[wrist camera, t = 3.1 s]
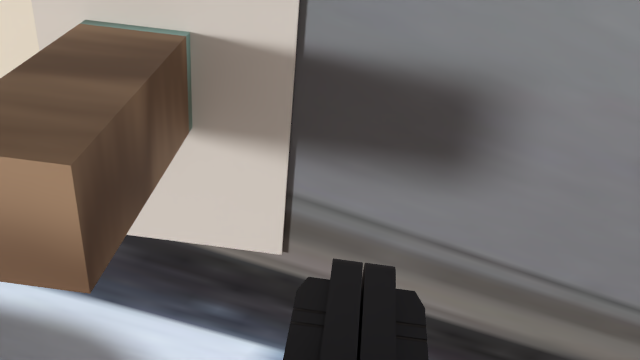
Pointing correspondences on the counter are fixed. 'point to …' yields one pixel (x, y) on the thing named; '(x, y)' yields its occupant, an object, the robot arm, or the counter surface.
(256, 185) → the cream flat rectangular panel
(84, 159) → the walnut block
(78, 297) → the counter surface
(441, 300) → the counter surface
